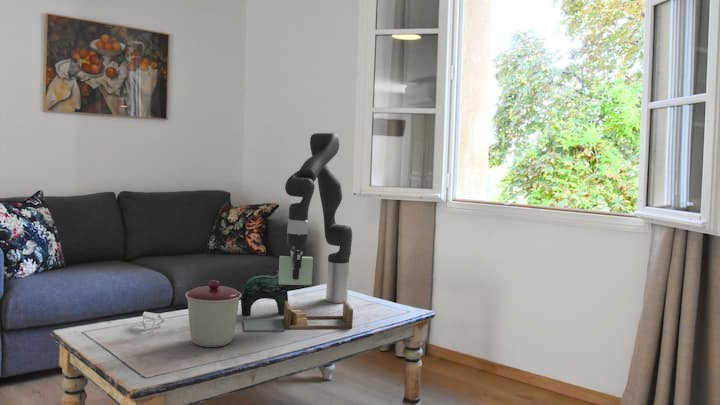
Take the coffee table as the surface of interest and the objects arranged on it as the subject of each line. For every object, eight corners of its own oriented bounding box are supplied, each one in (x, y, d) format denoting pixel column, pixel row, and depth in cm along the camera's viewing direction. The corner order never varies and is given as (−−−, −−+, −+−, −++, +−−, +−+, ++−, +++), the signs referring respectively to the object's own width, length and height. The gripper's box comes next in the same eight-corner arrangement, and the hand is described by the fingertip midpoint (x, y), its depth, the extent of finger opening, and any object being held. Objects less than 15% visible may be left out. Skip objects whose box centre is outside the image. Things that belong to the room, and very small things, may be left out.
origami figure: (170, 328, 226) (171, 315, 225) (150, 333, 219) (151, 319, 219) (149, 322, 233) (150, 308, 232) (129, 326, 226) (129, 312, 226)
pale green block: (278, 282, 237) (279, 256, 236) (310, 283, 240) (311, 256, 239) (279, 284, 234) (280, 257, 233) (311, 284, 237) (313, 258, 236)
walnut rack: (283, 318, 247) (284, 300, 246) (345, 318, 252) (346, 300, 251) (287, 329, 233) (288, 310, 232) (352, 328, 238) (353, 310, 237)
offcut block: (288, 321, 244) (289, 310, 243) (299, 320, 246) (299, 309, 245) (296, 327, 236) (297, 315, 236) (307, 326, 238) (308, 314, 238)
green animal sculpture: (289, 311, 257) (291, 262, 255) (292, 315, 251) (294, 265, 249) (239, 313, 251) (241, 262, 249) (241, 317, 245) (243, 265, 243)
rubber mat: (243, 320, 240) (243, 319, 240) (280, 320, 243) (280, 319, 243) (244, 331, 227) (244, 330, 227) (284, 331, 230) (284, 329, 230)
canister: (251, 342, 215) (253, 280, 213) (210, 355, 200) (212, 289, 198) (213, 331, 225) (215, 272, 223) (172, 342, 210) (173, 279, 208)
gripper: (285, 229, 241) (282, 274, 242) (289, 234, 228) (287, 282, 229) (304, 229, 243) (302, 274, 244) (310, 234, 229) (307, 282, 231)
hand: (295, 278), depth 236 cm, fingers closed on pale green block, 3 cm apart
